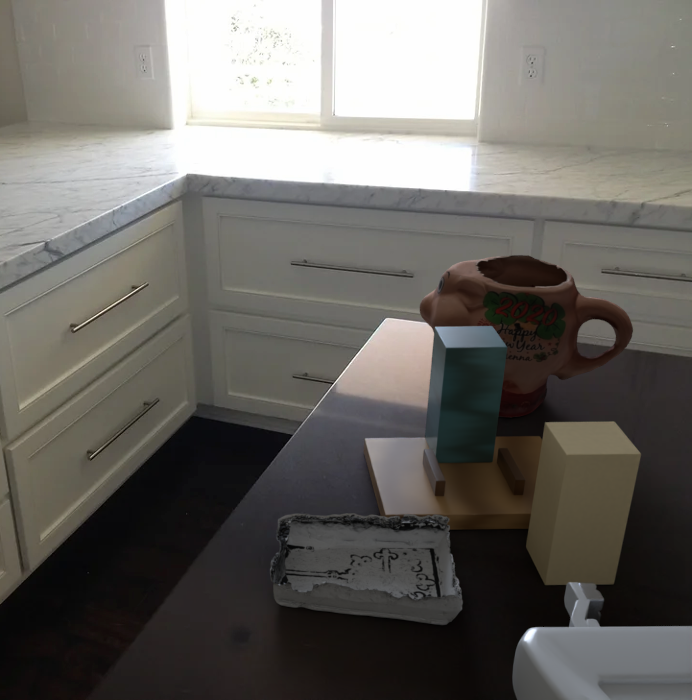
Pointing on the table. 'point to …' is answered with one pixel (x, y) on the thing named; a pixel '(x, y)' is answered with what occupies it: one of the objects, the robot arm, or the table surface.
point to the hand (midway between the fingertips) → (658, 590)
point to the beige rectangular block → (581, 501)
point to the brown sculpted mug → (525, 321)
